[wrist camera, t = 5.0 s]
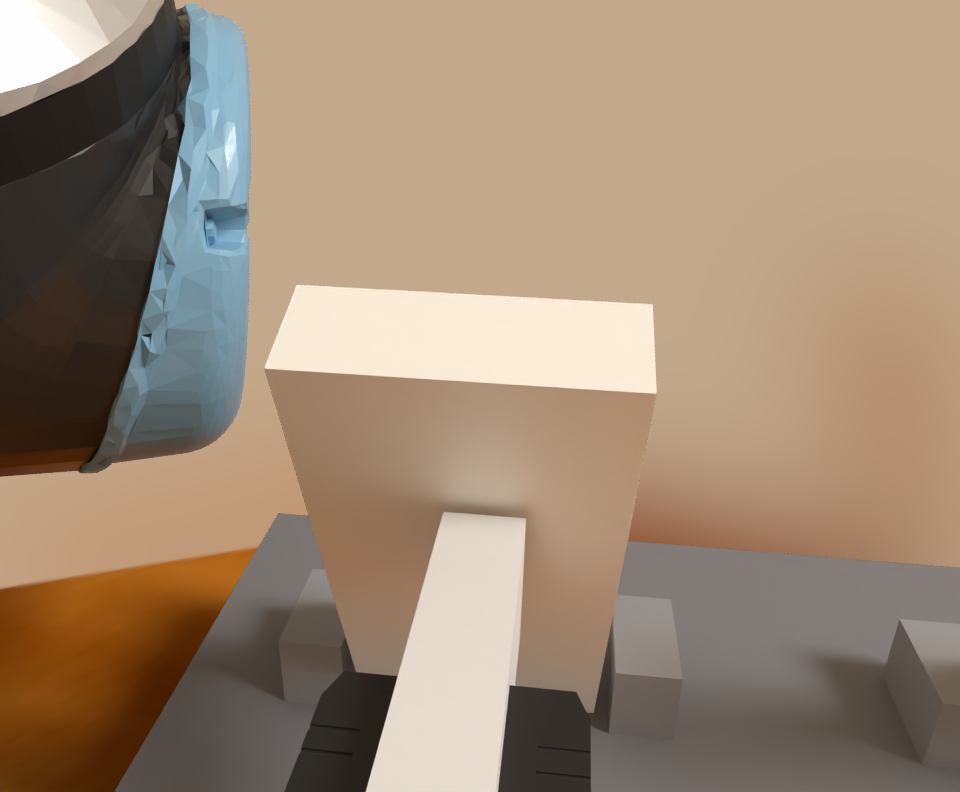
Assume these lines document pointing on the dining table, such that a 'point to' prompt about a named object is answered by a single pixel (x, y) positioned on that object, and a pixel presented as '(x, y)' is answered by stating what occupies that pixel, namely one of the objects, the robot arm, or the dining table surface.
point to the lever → (468, 454)
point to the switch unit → (624, 675)
